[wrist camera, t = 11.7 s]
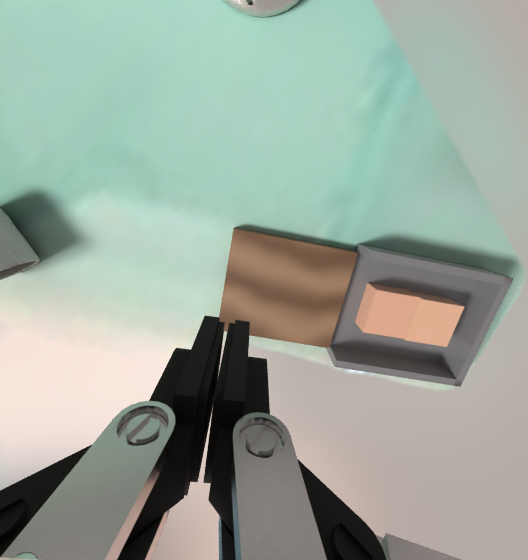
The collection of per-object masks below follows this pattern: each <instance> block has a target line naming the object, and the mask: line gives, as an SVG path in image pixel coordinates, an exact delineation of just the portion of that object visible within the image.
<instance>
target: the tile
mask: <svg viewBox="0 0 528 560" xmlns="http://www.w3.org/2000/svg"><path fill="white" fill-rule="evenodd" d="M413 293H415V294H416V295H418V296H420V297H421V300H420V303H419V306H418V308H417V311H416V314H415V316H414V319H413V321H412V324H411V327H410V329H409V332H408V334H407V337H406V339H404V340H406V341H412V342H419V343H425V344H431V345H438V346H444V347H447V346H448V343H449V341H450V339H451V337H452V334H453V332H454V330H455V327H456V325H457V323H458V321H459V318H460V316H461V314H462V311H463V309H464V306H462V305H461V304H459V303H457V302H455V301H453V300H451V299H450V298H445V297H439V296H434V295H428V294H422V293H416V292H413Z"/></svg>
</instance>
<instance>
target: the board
mask: <svg viewBox="0 0 528 560" xmlns="http://www.w3.org/2000/svg"><path fill="white" fill-rule="evenodd" d="M357 255H358V253H357V252H355V251H352V250H347V249H342V248H337V247H332V246H327V245H322V244H317V243H312V242H306V241H301V240H296V239H291V238H286V237H281V236H276V235H271V234H266V233H260V232H255V231H250V230H245V229H240V228H234V230H233V236H232V242H231V248H230V254H229V260H228V266H227V273H226V279H225V285H224V291H223V297H222V303H221V309H220V315H219V318H220V322H225V325H224V331H227V332H228V327H229V323H235V320H242V321H249V322H250V328H249V335H252V336H258V337H264V338H270V339H276V340H282V341H288V342H294V343H301V344H307V345H313V346H319V347H325V348H329V346H330V343H331V340H332V336H333V333H334V330H335V327H336V323H337V320H338V317H339V313H340V310H341V307H342V304H343V300H344V297H345V294H346V291H347V287H348V284H349V281H350V277H351V274H352V271H353V268H354V264H355V261H356V258H357Z"/></svg>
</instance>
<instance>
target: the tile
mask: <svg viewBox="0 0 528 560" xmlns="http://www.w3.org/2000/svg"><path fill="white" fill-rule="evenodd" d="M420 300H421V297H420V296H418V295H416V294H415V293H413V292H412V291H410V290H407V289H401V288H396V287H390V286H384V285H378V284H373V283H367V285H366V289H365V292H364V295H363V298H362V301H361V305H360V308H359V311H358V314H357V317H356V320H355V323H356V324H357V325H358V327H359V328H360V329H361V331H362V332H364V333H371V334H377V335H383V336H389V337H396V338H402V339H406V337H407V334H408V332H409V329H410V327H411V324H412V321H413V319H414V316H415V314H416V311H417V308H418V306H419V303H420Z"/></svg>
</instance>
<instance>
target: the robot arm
mask: <svg viewBox="0 0 528 560" xmlns="http://www.w3.org/2000/svg"><path fill="white" fill-rule="evenodd" d="M224 1H225V2H226V3H227V4H228V5H230V6H231V7H233V8H234V9H236V10H238V11H239V12H241V13H245V14H248V15H251V16H258V17H267V16H273V15H277V14H279V13H282V12H284V11H287V10H288V9H289V8H291V7H292V6H294V5H295V4H297V3H298V2H299V1H300V0H224ZM250 3H252V4H253V5H249V4H250ZM224 325H225V322H220V318H219V317H211V316H205V317H204V319H203V321H202V324H201V327H200V329H199V332H198V334H197V337H196V339H195V342H194V344H193V347H192V349H191V350H189V349H181V348H176V349H175V350H174V352H173V354H172V356H171V358H170V360H169V362H168V364H167V366H166V368H165V370H164V372H163V374H162V376H161V378H160V380H159V382H158V384H157V386H156V388H155V390H154V392H153V394H152V396H151V398H150V400H149V401H145V402H139V403H136V404H133V405H130V406H129V407H127V408H125V409H124V410H122V411H121V412H120V413H119V414H118V415H117V416H116V417H115V418H114V419H113V420H112V422H111V423H110V424H109V425H108V426H107V427H106V429H105V430H104V431H103V432H102V434H101V435H100V436H99V437H98V439H97V440H96V441H95V442H94V443H93V444H92V445H90V446H88V447H86V448H84V449H82V450H80V451H78V452H76V453H74V454H72V455H70V456H68V457H66V458H64V459H62V460H60V461H58V462H57V463H54V464H52V465H50V466H48V467H46V468H44V469H42V470H40V471H39V472H37V473H35V474H33V475H31V476H28V477H27V478H24V479H22V480H21V481H19V482H17V483H15V484H13V485H11V486H9V487H7V488H5V489H3V490H1V491H0V560H151V558H152V555H153V553H154V551H155V548H156V546H157V543H158V541H159V538H160V536H161V533H162V531H163V528H164V526H165V523H166V521H167V518H168V514H169V509H170V508H172V507H173V506H174V505H175V504H177V503H178V502H179V501H180V500H182V499H183V498H184V495H187V494H188V490H189V485H190V482H197V481H198V477H199V472H200V468H201V462H202V457H203V452H204V448H205V442H206V438H207V432H208V427H209V422H210V417H211V413H212V419H211V426H210V435H209V443H208V451H207V459H206V467H205V475H204V483H211V486H210V494H209V501H210V503H211V504H212V506H213V507H214V508H215V510H216V511H217V513H218V514H219V515H220V517H219V560H461V559H458V558H455V557H452V556H449V555H446V554H444V553H441V552H438V551H435V550H432V549H429V548H427V547H424V546H421V545H418V544H415V543H412V542H409V541H407V540H404V539H401V538H398V537H395V536H392V535H389V534H387V533H386V534H385V536H384V538H382V537H379V536H376V535H375V534H374V532H373V531H372V530H371V529H370V528H369V527H368V526H367V524H366V523H365V522H364V521H363V520H362V519H361V518H360V517H359V516H358V515H356V514H355V513H354V512H353V511H352V510H351V509H350V508H349V507H348V506H347V505H346V504H345V503H344V502H342V500H341V499H339V498H338V497H337V496H336V495H335V494H334V493H333V492H332V491H331V490H330V489H329V488H327V486H326V485H325V484H323V483H322V482H321V481H320V480H319V479H318V478H317V477H316V476H315V475H314V474H313V473H312V472H311V471H310V470H309V469H307V468H306V467H305V466H304V465H303V464H302V463H301V462H300V461H299V460H298V459H297V456H296V453H295V450H294V447H293V443H292V440H291V436H290V434H289V431H288V429H287V427H286V426H285V425H284V424H283V423H282V422H281V421H280V420H279V419H277V418H276V417H274V416H272V415H270V409H269V390H268V372H267V360H266V359H263V358H255V357H248V347H249V328H250V322H249V321H242V320H235V323H229V327H228V332H227V337H226V342H225V346H224V351H223V357H222V362H221V367H220V371H219V365H220V357H221V349H222V341H223V333H224ZM218 373H219V376H218ZM212 408H213V410H212Z"/></svg>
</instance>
